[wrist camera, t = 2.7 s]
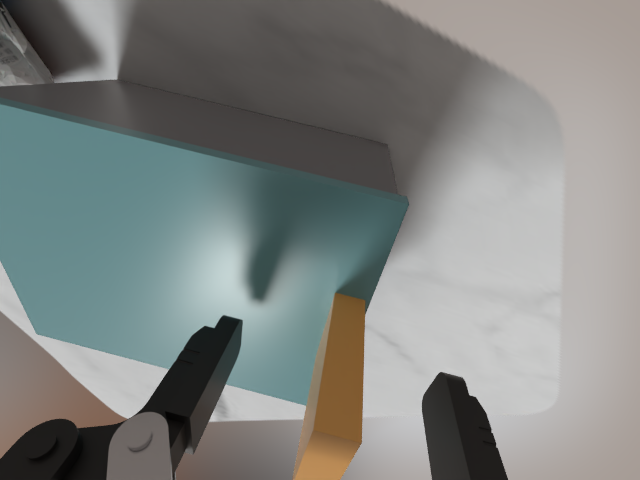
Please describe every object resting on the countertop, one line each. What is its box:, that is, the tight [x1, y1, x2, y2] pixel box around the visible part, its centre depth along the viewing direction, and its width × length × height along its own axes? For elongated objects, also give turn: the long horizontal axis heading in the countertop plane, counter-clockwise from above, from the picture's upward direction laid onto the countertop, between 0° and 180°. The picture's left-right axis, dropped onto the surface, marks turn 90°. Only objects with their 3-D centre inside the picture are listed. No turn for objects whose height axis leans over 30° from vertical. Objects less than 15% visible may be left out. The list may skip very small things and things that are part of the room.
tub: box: [0, 80, 398, 195], centre depth 16 cm, size 16×12×8 cm
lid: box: [0, 98, 409, 480], centre depth 11 cm, size 16×12×6 cm
